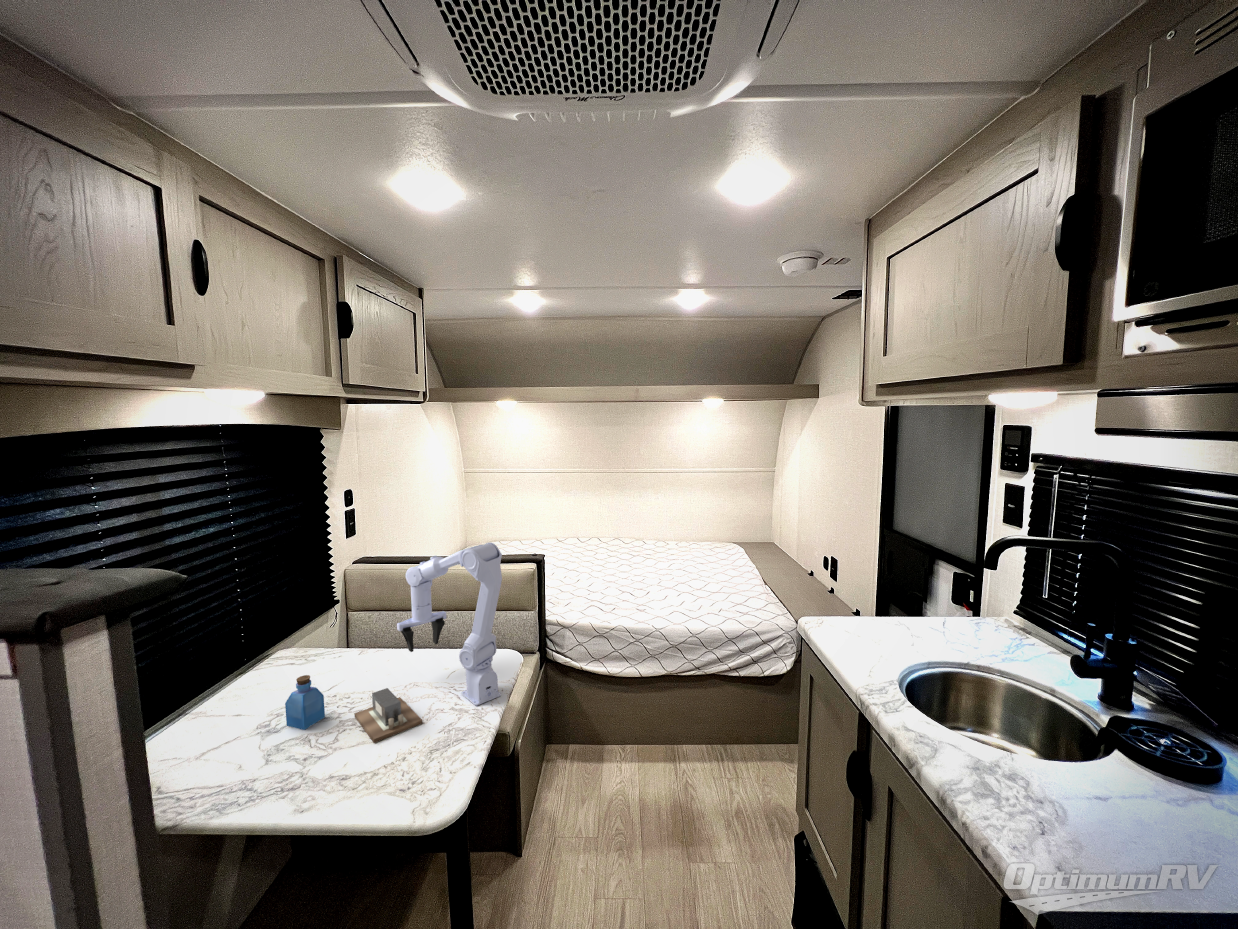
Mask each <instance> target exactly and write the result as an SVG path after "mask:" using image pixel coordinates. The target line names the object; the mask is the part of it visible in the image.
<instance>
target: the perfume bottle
mask: <svg viewBox="0 0 1238 929" xmlns="http://www.w3.org/2000/svg"><path fill="white" fill-rule="evenodd" d="M295 688H296V690H294V691H292V692H291V693H290V695H289V696H288V698H287V699H286V701H285V704H284V705H285V708H284V709H285V720H286V721H285V722H286V727H289V728H290V727H291V728H292V729H293V728H294V729H299V730H302V731H306V730H307V729H308V728H310V727H311V726H313V725H315V724H316V723H319V721H321V720H322V719H325V718H326V713H325V712H326V709H325V696H324V693H323V692H321V691H320V690H319V689H318V687H316V686H312V680H311V675H309V674H306V675H301V676H299V677H296V683H295Z"/></svg>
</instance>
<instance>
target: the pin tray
mask: <svg viewBox="0 0 1238 929" xmlns="http://www.w3.org/2000/svg"><path fill="white" fill-rule="evenodd" d="M397 698H398V700H399V701H400V702H401V714H400V715H398V722H395V723H394V718H389V719H388V721H389V725H388V726H385V725H384V724H383V723H382V721H381V720H380V719H379V718H378V716H377V715H376V714H375V713H374V712H373V706H371V707H369V708H366V709H363V710H360V711H356V712H355V713H354V718H355V719H356V721H357V723H358V724H359V725H360V726H361V728H362V730H364V732H365V733H366V735H367V736H368V737H369V739H370V740H371V741H372V743H373V744H376V743H377V742H380V741H383V740H385V739H389V738H390V737H392V736H395V735H398V734H399V733H403V732H405V731H408V730H410V729H413V728H415V727H418V726H419V725H422V724H423V719H422V718H421V717H420V716H419V715H418V714H417V713H416V712H415V711H414V710H413V709H412V708H411V707H410V706H409V704H407V702H405V701H404V699H403V698H402V697H401V696H400V697H397ZM371 702H372V704H371V705H373V701H371Z"/></svg>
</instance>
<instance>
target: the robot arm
mask: <svg viewBox="0 0 1238 929" xmlns="http://www.w3.org/2000/svg"><path fill="white" fill-rule="evenodd" d="M502 557H503V554H502V552H501V551H500V548H499V547H498V546H497V544H496V543H494V542H485V543H484V544H478V545H475V546H471V547H470V546H469V547H466V548H464V549H461V550H458V551H456V552H454V553H452V554H450V555H448V556H446V557H443V556H437V555H433V556H431V557H429V558H430V559H429V560H427V561H425V560H423V561H421V562H419V565H416V566H410V567H409V568H408V569H407V570H406V572H405V580H406V583H407V584H408V585H409V586H410V598H411V602H410V603H411V617H410V618H408V619H405V620H403V621H400V622H397V623H396V630H397V631H399V632H400V633H401V634H402V636H403V638H404V640H405V642H406V645H407V648H408V652H410V653H412V652H414V650H415V649H414V633H415V632H414V631H413V630H412V629H413V627H414V628H415V627H417V626H421V625H425V624H429V623H431V628H432V642H433V644H435V645H438V644H439V639H440V637H441V633H442V630H443V629H444V628H443V627H444V626H445V623H446V620H445V619H447V617H448V616H447V612H446V611H444V610H442V611H438V612H437V611H436V612H433V610H432V608H433V606H432V604H433V603H432V588H431V587H433V580H435V579H437V578H440V577H443V576H444V575H446V574H447V573H448V571H449V569H450V568H451V567H455V566H457V565H460V567H464V568H465V570H466V571H467V572H468V573H469V574H470V575H471V576H472V577H473V578H474V579H475V581H477V582H480V587H479V593H478V597H477V601H476V602H477V603H476V607H475V608H476V609H475V612H474V617H473V624H472V628H471V633H470V634H469V636H468V637H467V638H466V639H465V641H464V643H463V646H462V648H461V650H460V651H459V654H458V658H459V662H460V664H461V665H462V667H463V669H465V684H466V685H465V686H466V689H465V690H463V691H461V695H462V696H463V697H464V698H466V699H467V700H468V701H470V702H471V703H472V704H473V705H474V706H479V705H482V704H484V703H486V702H489V701H491V700H494V699H496V698H499V697H501V696H502V694H501V693H500V692H499V682H498V674H497V672H495V670H494V669H493V667H492V665H493V664H492V661H493V660H494V658H493V657H494V656H495V654H496V653H497V644H496V641H497V640H496V639H497V636H496V635H495V634H494V633H493V632H492V630H493V626H494V621H495V616H496V611H497V607H498V606H497V605H498V601H499V597H500V592H501V591H500V590H501V586H502V582H503V581H502V580H503V577H502V576H503V575H502V574H503V573H502V568H501V562H502V561H501V560H502Z"/></svg>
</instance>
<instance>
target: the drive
mask: <svg viewBox="0 0 1238 929" xmlns="http://www.w3.org/2000/svg"><path fill="white" fill-rule="evenodd" d="M371 694H372V695H371V696H372V697H371V698H372V699H371V700H372V701H373V704H372V707H373V712H374V713H375V714H376V715H377V716H378V718H379V719H380V720H381V721H382V723H383V724H384V725H385V726H388V725H389V721H388V719H389V718H394V723H395V722H398V715H400V714H401V702H400V701H399V700H398V698H399V697H397V696H396V695H395V694H394V693H393V692H392V691H391V690H390V689H389V688H388V687H386V688H383V689H380V690H377V691H374V692H372V693H371ZM372 701H371V702H372Z"/></svg>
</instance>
